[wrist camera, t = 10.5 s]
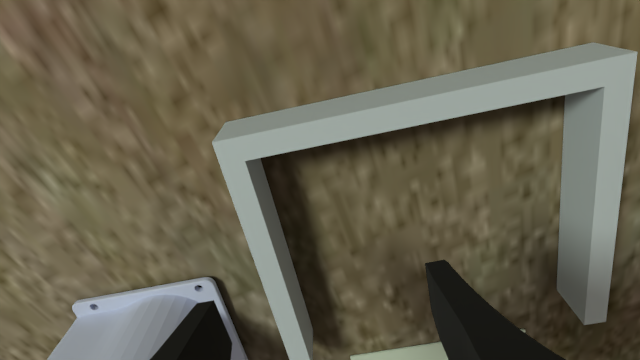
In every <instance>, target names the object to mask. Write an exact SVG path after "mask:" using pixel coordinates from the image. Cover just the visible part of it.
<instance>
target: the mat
mask: <svg viewBox="0 0 640 360" xmlns="http://www.w3.org/2000/svg"><path fill="white" fill-rule="evenodd" d="M520 330H522V331H523V332H524V333H525V329H520ZM350 358H351V360H448V357H447V355H446V352H445V350H444V348H443V345H442V343H441V342H436V343H429V344H423V345H417V346H410V347H404V348H397V349H391V350H385V351H378V352H372V353H366V354H359V355H353V356H350Z"/></svg>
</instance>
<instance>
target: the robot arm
mask: <svg viewBox="0 0 640 360" xmlns="http://www.w3.org/2000/svg"><path fill="white" fill-rule="evenodd" d="M425 266H426V273H427V281H428V288H429V296H430V303H431V311H432V314H433V317H434V321H435V324H436V328H437V331H438V334H439V337H440V340H441V343H442V345H443V348H444V350H445V352H446V355H447V357H448V360H566V359H564V358H562V357H560V356H559V355H557V354H555V353H554V352H552V351H551V350H549V349H548V348H546V347H545V346H543V345H542V344H540V343H538V342H537V341H536V340H534V339H533V338H531V337H530V336H528V335H527V334H526V333H524V332H523V331H522V330H520V329H519V328H518V327H516V326H515V325H514V324H512V323H511V322H510V321H509V320H507V319H506V318H505V317H504V316H502V315H501V314H500V313H499V312H498V311H496V310H495V309H494V308H493V307H492V306H491V305H489V304H488V303H487V302H486V301H485V300H484V299H483V298H482V297H481V296H480V295H479V294H477V293H476V292H475V291H474V290H473V289H472V288H471V287H470V286H469V285H468V284H467V283H466V282H465V281H464V280H463V279H462V278H461V277H460V276H459V274H458V273H457V272H456V271H455V270H454V269H453V268H452V267H451V266H450V264H449V263H448V262H447V261H445V260H441V261H435V262H429V263H425ZM197 285H200V286H202V287H198V286H197ZM96 305H97V306H96ZM72 309H73V311H74V313H75V315H76V316H77V319H76V320H75V322H74V323H73V324H72V326H71V327H70V329H69V330H68V331H67V333H66V334H65V335H64V337H63V338H62V340H61V341H60V342H59V344H58V345H57V346H56V348H55V349H54V351H53V352H52V353H51V355H50V356H49V357H48V359H47V360H248V358H247V356H246V353H245V351H244V349H243V346H242V344H241V342H240V339H239V337H238V334H237V332H236V330H235V327H234V325H233V323H232V320H231V318H230V315H229V313H228V311H227V308H226V306H225V303H224V301H223V299H222V296H221V294H220V292H219V289H218V287H217V284H216V282H215V281H214V279H212V278H210V277H203V278H198V279H192V280H187V281H181V282H176V283H170V284H165V285H159V286H154V287H148V288H143V289H137V290H132V291H126V292H121V293H115V294H110V295H104V296H99V297H93V298H88V299H82V300H78V301H76V302H75V303H74V305H73V306H72Z"/></svg>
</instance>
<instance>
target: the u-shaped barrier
mask: <svg viewBox="0 0 640 360" xmlns="http://www.w3.org/2000/svg"><path fill="white" fill-rule="evenodd" d="M636 60H637V52H636V51H631V50H626V49H621V48H617V47H612V46H607V45H602V44H597V43H589V44H584V45H579V46H575V47H570V48H566V49H561V50H556V51H552V52H547V53H543V54H538V55H533V56H529V57H524V58H520V59H515V60H510V61H506V62H501V63H496V64H492V65H487V66H483V67H478V68H473V69H469V70H464V71H460V72H455V73H450V74H446V75H441V76H437V77H432V78H427V79H423V80H418V81H414V82H409V83H404V84H400V85H395V86H391V87H386V88H381V89H377V90H372V91H368V92H363V93H358V94H354V95H349V96H345V97H340V98H335V99H331V100H326V101H321V102H317V103H312V104H308V105H303V106H298V107H294V108H289V109H285V110H280V111H275V112H271V113H266V114H262V115H257V116H252V117H248V118H243V119H239V120H234V121H229V122H226V123H225V124H224V126H223V127H222V128H221V130H220V131H219V133H218V134H217V136H216V137H215V139H214V140H213V142H212V144H213V147H214V150H215V153H216V155H217V158H218V161H219V164H220V167H221V169H222V172H223V175H224V178H225V181H226V183H227V186H228V189H229V192H230V195H231V197H232V200H233V203H234V206H235V209H236V211H237V214H238V217H239V220H240V223H241V225H242V228H243V231H244V234H245V237H246V239H247V242H248V245H249V248H250V251H251V253H252V256H253V259H254V262H255V265H256V267H257V270H258V273H259V276H260V279H261V281H262V284H263V287H264V290H265V293H266V295H267V298H268V301H269V304H270V307H271V309H272V312H273V315H274V318H275V321H276V323H277V326H278V329H279V332H280V335H281V337H282V340H283V343H284V346H285V349H286V351H287V354H288V357H289V360H313V328H312V325H311V321H310V318H309V315H308V312H307V308H306V305H305V302H304V299H303V295H302V292H301V289H300V286H299V282H298V279H297V276H296V273H295V269H294V266H293V263H292V260H291V256H290V253H289V250H288V247H287V243H286V240H285V237H284V234H283V230H282V227H281V224H280V221H279V217H278V214H277V211H276V207H275V204H274V201H273V198H272V194H271V191H270V188H269V185H268V181H267V178H266V175H265V172H264V168H263V165H262V162H261V159H260V158H262V157H267V156H272V155H277V154H282V153H287V152H291V151H296V150H301V149H306V148H311V147H316V146H320V145H325V144H330V143H335V142H340V141H345V140H349V139H354V138H359V137H364V136H369V135H374V134H378V133H383V132H388V131H393V130H398V129H403V128H407V127H412V126H417V125H422V124H427V123H431V122H436V121H441V120H446V119H451V118H456V117H460V116H465V115H470V114H475V113H480V112H485V111H489V110H494V109H499V108H504V107H509V106H514V105H518V104H523V103H528V102H533V101H538V100H543V99H547V98H552V97H557V96H562V95H565V107H564V130H563V153H562V176H561V199H560V222H559V245H558V268H557V291H558V292H559V293H560V295H561V296H562V297H563V299H564V300H565V301H566V302H567V304H568V305H569V306H570V308H571V309H572V310H573V311H574V313H575V314H576V315H577V317H578V318H579V319H580V320H581V322H582V323H583V324H584V325H588V324H594V323H601V322H606V317H607V308H608V300H609V291H610V283H611V274H612V266H613V257H614V248H615V240H616V231H617V223H618V214H619V205H620V197H621V188H622V180H623V171H624V163H625V154H626V145H627V137H628V128H629V120H630V111H631V103H632V94H633V85H634V77H635V68H636Z"/></svg>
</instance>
